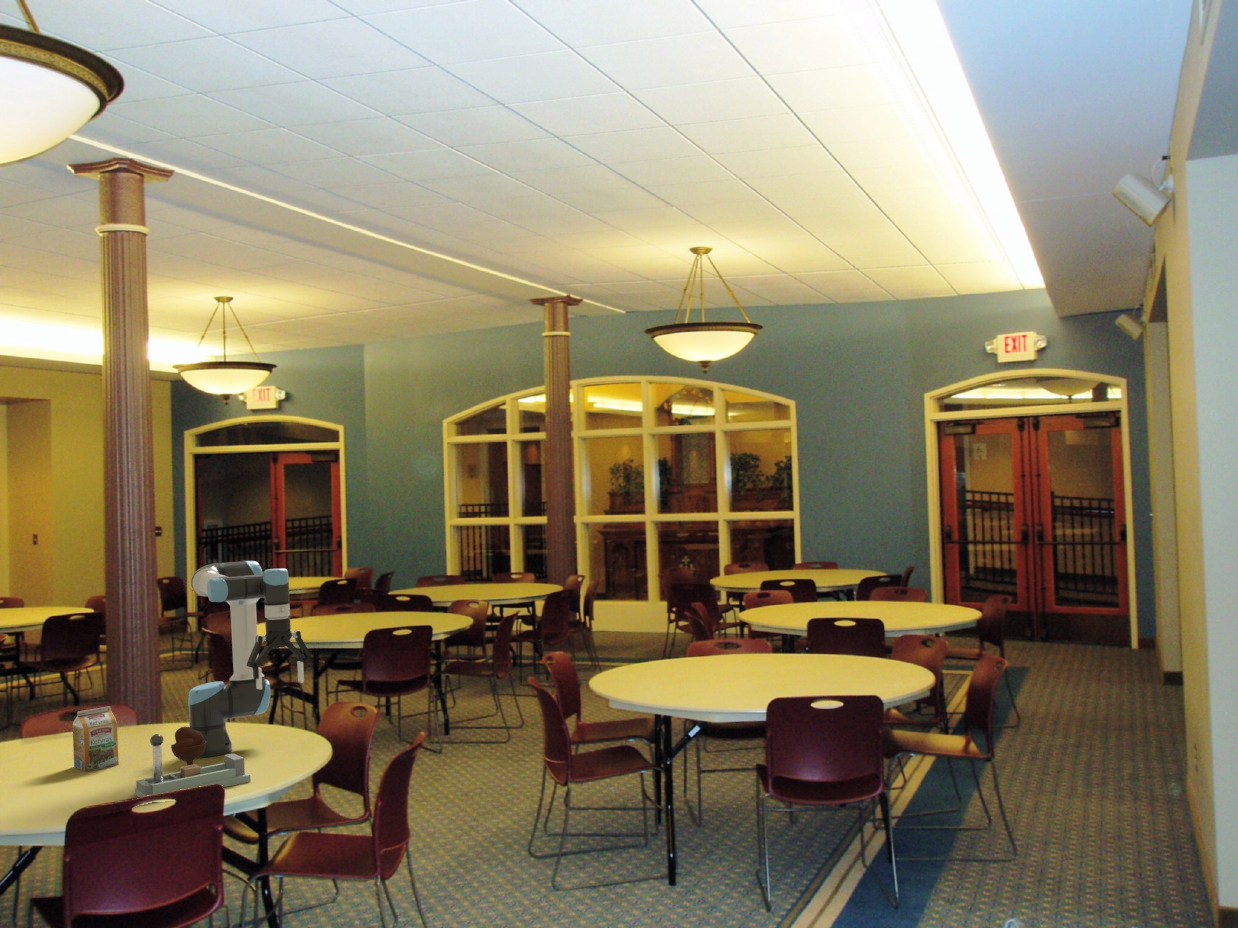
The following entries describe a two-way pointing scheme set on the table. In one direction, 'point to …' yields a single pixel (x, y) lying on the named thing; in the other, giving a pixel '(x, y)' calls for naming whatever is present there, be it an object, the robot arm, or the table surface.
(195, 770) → the walnut block
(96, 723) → the milk carton
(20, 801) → the table surface
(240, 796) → the table surface
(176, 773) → the grey slotted track
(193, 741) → the ice cream bowl
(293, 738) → the table surface
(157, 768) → the lever
